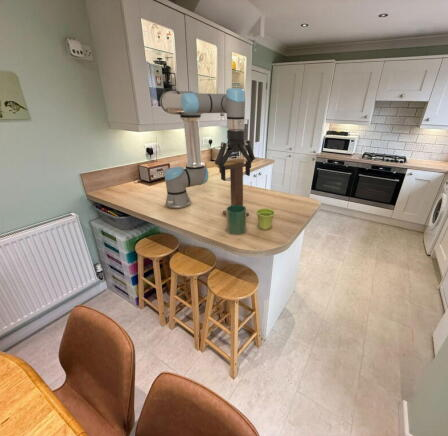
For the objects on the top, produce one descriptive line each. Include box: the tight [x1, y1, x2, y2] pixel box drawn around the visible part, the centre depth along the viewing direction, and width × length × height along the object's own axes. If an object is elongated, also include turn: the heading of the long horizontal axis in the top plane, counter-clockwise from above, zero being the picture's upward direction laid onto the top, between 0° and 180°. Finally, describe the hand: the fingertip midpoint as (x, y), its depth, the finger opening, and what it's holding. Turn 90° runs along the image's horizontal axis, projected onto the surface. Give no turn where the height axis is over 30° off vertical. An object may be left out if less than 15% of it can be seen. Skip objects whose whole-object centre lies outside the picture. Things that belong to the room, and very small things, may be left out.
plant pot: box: [256, 207, 276, 230], centre depth 121 cm, size 9×9×9 cm
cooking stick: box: [204, 156, 245, 169], centre depth 120 cm, size 2×22×2 cm, turn 125°
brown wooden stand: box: [217, 162, 250, 217], centre depth 129 cm, size 11×14×30 cm
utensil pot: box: [226, 204, 247, 235], centre depth 117 cm, size 10×10×12 cm
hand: (235, 177), depth 109 cm, fingers open, 13 cm apart
